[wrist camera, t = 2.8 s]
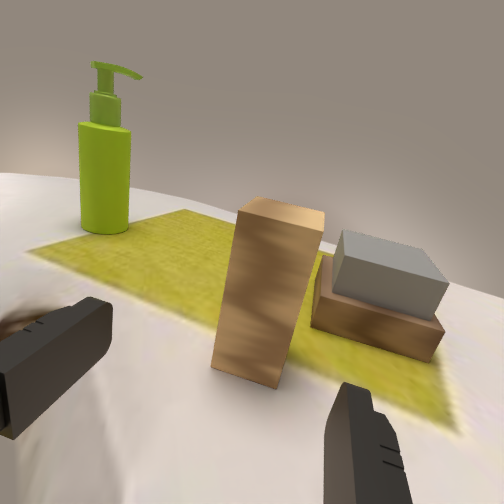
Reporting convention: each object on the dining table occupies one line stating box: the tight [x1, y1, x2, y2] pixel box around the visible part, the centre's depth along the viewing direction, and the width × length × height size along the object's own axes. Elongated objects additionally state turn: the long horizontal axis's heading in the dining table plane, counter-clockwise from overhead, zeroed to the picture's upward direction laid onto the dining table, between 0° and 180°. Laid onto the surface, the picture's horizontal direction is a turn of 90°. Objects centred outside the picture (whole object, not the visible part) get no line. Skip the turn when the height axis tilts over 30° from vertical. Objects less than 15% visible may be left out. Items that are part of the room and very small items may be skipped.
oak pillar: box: [211, 196, 325, 389], centre depth 22 cm, size 5×5×12 cm
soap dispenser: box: [78, 61, 143, 234], centre depth 38 cm, size 6×7×20 cm
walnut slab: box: [310, 255, 445, 363], centre depth 33 cm, size 11×11×4 cm
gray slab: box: [332, 229, 450, 321], centre depth 31 cm, size 9×9×4 cm
